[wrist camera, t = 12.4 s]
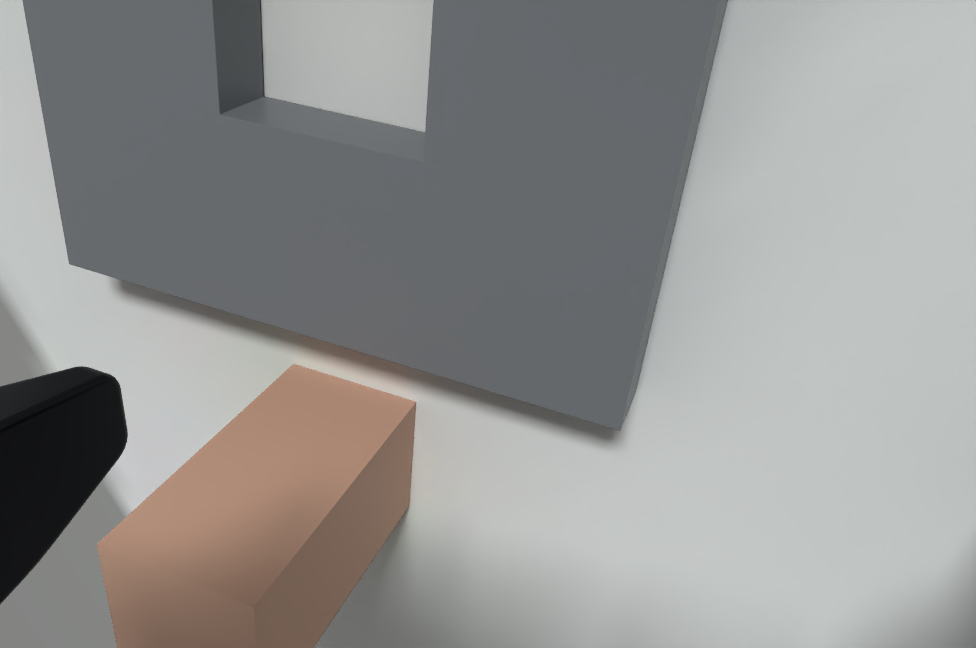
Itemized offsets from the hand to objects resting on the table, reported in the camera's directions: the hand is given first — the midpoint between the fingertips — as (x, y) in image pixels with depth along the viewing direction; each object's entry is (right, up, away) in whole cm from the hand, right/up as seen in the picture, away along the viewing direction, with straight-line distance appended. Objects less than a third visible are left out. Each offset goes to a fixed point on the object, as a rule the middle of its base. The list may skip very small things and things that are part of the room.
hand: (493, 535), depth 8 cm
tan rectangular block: (-4, -1, +17) cm, 18 cm away
